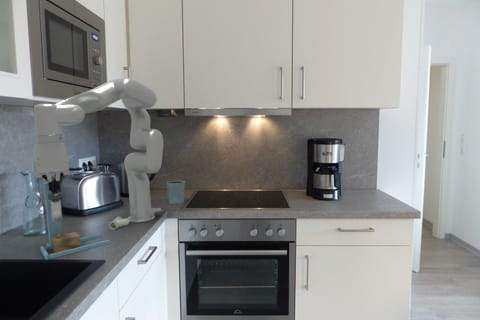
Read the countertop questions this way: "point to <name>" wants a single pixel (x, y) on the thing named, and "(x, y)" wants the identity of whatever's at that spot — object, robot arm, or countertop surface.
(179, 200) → the drinking glass
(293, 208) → the countertop surface
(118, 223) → the pipe fitting
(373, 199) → the countertop surface
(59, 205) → the ram
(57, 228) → the press
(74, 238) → the housing
